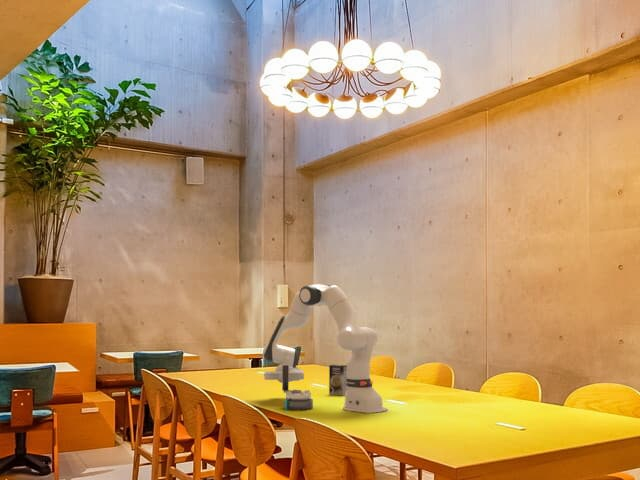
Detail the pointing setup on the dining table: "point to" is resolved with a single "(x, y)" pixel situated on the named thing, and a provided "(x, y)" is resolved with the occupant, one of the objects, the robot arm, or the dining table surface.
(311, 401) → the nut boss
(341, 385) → the coffee box
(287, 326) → the robot arm
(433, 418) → the dining table surface
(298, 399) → the disc with upright handle
